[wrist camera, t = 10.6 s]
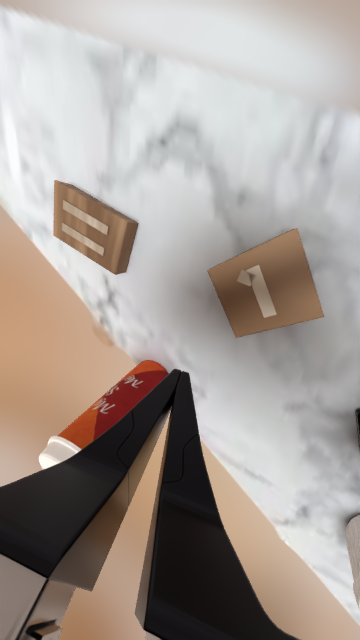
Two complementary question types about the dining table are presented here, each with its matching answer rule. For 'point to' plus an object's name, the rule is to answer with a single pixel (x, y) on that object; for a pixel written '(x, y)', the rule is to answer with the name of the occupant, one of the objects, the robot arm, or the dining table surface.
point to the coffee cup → (103, 413)
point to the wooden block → (93, 227)
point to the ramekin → (354, 553)
